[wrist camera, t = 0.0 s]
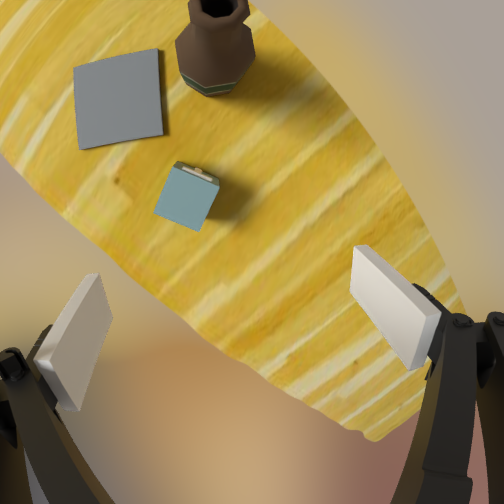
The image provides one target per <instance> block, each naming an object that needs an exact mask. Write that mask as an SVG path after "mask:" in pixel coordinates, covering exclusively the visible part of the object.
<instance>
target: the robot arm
mask: <svg viewBox="0 0 504 504" xmlns="http://www.w3.org/2000/svg"><path fill="white" fill-rule="evenodd" d="M350 293H351V294H352V295H353V297H354V298H355V299H356V300H357V302H358V303H359V304H360V306H361V307H362V308H363V310H364V311H365V312H366V314H367V315H368V316H369V318H370V319H371V320H372V321H373V323H374V324H375V325H376V327H377V328H378V330H379V331H380V332H381V334H382V335H383V336H384V338H385V339H386V340H387V342H388V343H389V344H390V346H391V347H392V348H393V350H394V351H395V353H396V354H397V355H398V357H399V358H400V360H401V361H402V362H403V364H404V365H405V367H406V368H407V369H408V371H411V370H414V369H417V368H420V367H423V366H424V363H425V360H426V358H427V355H428V357H429V358H430V359H431V360H432V362H431V365H430V367H429V370H428V372H427V375H426V377H425V380H427V384H426V388H425V393H424V398H423V402H422V407H421V411H420V415H419V419H418V423H417V427H416V430H415V434H414V437H413V441H412V444H411V448H410V451H409V454H408V457H407V460H406V463H405V466H404V469H403V472H402V475H401V477H400V480H399V483H398V485H397V488H396V491H395V493H394V496H393V498H392V501H391V503H390V504H469V501H470V497H471V492H472V486H473V482H472V478H469V477H467V469H468V464H469V458H470V451H471V444H472V437H473V428H474V417H475V404H476V401H477V406H478V411H479V417H480V422H481V428H482V434H483V441H484V448H485V456H486V466H487V477H488V490H489V491H488V493H489V504H504V313H501V312H491V313H489V314H488V316H487V319H486V322H480V323H474V321H473V320H472V319H471V318H470V317H468V316H467V315H464V314H461V313H454V314H452V313H450V312H449V311H448V310H447V309H446V308H445V307H444V306H443V305H442V304H441V303H440V302H439V301H438V300H435V298H434V297H433V296H432V295H430V293H429V292H428V291H427V290H426V289H424V288H423V287H421V286H419V285H417V284H415V283H413V284H411V283H410V282H409V281H408V280H406V279H405V278H404V277H403V276H402V275H401V274H400V273H399V272H398V271H396V270H395V269H394V268H393V267H392V266H391V265H390V264H389V263H387V262H386V261H385V260H384V259H383V258H382V257H380V256H379V255H378V254H377V253H376V252H375V251H374V250H372V249H371V248H370V247H369V246H368V245H359V246H354V251H353V263H352V274H351V284H350ZM112 319H113V317H112V313H111V310H110V307H109V304H108V301H107V297H106V294H105V291H104V288H103V284H102V281H101V277H100V274H99V273H93V274H87V275H86V276H85V277H84V279H83V280H82V282H81V283H80V284H79V286H78V287H77V289H76V290H75V292H74V293H73V295H72V296H71V298H70V299H69V301H68V302H67V304H66V306H65V307H64V309H63V310H62V312H61V313H60V315H59V317H58V318H57V320H56V321H55V323H54V325H49V326H48V327H47V328H46V329H45V330H44V331H42V333H41V335H40V337H39V338H38V340H37V341H36V343H35V344H34V345H35V346H33V348H32V350H31V351H30V353H29V355H28V356H27V358H26V360H25V359H24V357H23V355H22V353H21V351H20V350H19V349H18V348H15V347H12V348H8V349H5V350H3V351H2V352H0V376H1V378H2V380H0V504H33V502H32V497H31V492H30V487H29V482H28V476H27V470H26V463H25V456H24V448H25V451H26V454H27V456H28V459H29V461H30V464H31V466H32V468H33V471H34V473H35V475H36V477H37V479H38V482H39V483H40V486H41V488H42V490H43V492H44V494H45V496H46V498H47V500H48V502H49V504H115V503H114V501H113V500H112V499H111V498H110V496H109V495H108V493H107V492H106V490H105V489H104V488H103V486H102V485H101V484H100V482H99V481H98V479H97V478H96V476H95V475H94V473H93V472H92V470H91V469H90V467H89V466H88V464H87V462H86V461H85V460H84V458H83V456H82V454H81V453H80V451H79V449H78V448H77V446H76V445H75V443H74V442H73V439H72V437H71V436H70V434H69V432H68V430H67V429H66V427H65V425H64V423H63V421H62V419H61V417H60V415H59V413H58V412H57V410H56V409H55V406H56V404H57V401H58V402H59V404H60V405H61V407H62V408H63V409H64V410H65V411H76V412H79V411H80V409H81V405H82V402H83V399H84V396H85V393H86V390H87V387H88V384H89V381H90V378H91V375H92V372H93V369H94V366H95V363H96V361H97V358H98V356H99V353H100V350H101V347H102V345H103V342H104V339H105V337H106V334H107V332H108V329H109V327H110V324H111V322H112ZM23 446H24V447H23Z"/></svg>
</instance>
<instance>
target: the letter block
mask: <svg viewBox="0 0 504 504" xmlns="http://www.w3.org/2000/svg"><path fill="white" fill-rule="evenodd" d="M219 188H220V184H219V179H218V178H216V177H213V176H211V175H209V174H207V173H204V172H202V170H201V169H199V168H197V167H196V168H193V167H191V166H188V165H186V164H184V163H181V162H179V161H177V162H176V163H175V164H174V166H173V167H172V169H171V171H170V174H169V176H168V178H167V181H166V183H165V185H164V188H163V190H162V192H161V195H160V197H159V200H158V202H157V205H156V207H155V210H154V212H153V213H154V214H157V215H159V216H161V217H164V218H166V219H169V220H171V221H173V222H176V223H178V224H181V225H183V226H186V227H188V228H190V229H193V230H195V231H198V232H199V231H200V229H201V227H202V224H203V222H204V220H205V218H206V216H207V214H208V211H209V209H210V207H211V205H212V203H213V201H214V199H215V197H216V194H217V192H218V190H219Z"/></svg>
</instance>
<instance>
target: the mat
mask: <svg viewBox="0 0 504 504" xmlns="http://www.w3.org/2000/svg"><path fill="white" fill-rule="evenodd" d="M73 72H74V98H75V113H76V125H77V135H78V144H79V150H82V149H87V148H91V147H96V146H101V145H105V144H110V143H116V142H121V141H127V140H132V139H138V138H144V137H151V136H157V135H164V132H163V120H162V107H161V93H160V76H159V53H158V48H156V49H150V50H145V51H139V52H134V53H129V54H125V55H120V56H116V57H111V58H107V59H103V60H99V61H95V62H92V63H88V64H84V65H81V66H78V67H74V68H73Z"/></svg>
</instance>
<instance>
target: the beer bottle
mask: <svg viewBox="0 0 504 504" xmlns="http://www.w3.org/2000/svg"><path fill="white" fill-rule="evenodd" d="M188 8H189V15H190V21H191V22H190V23H189V24H188V26H187V27H186V28H185V29H184V30H183V31H182V33H181V34H180V35H179V36H178V37H177V39H176V40H175V46H176V52H177V58H178V65H179V71H180V73H181V75H182V77H183V79H184V81H185V83H186V84H187V85H188V86H190V87H191V88H193V89H195V90H196V91H198V92H199V93H201V94H203V95H204V96H206V97H208V96H214V95H220V94H225V93H229V92H230V91H231V90H232V89H233V88H234V86H235V85H236V84H237V83H238V81H239V80H240V79H241V77H242V76H243V75H244V74H245V72H246V71H247V69H248V68H249V67H250V65H251V64H252V62H253V61H254V59H255V56H256V55H255V49H254V44H253V39H252V33H251V29H250V28H249V27H248V26H246V25H245V24H243V22H244V21H245V20H246V18H247V17H248V16H249V15H250V10H249V5H248V0H190V1H189V2H188Z"/></svg>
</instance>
